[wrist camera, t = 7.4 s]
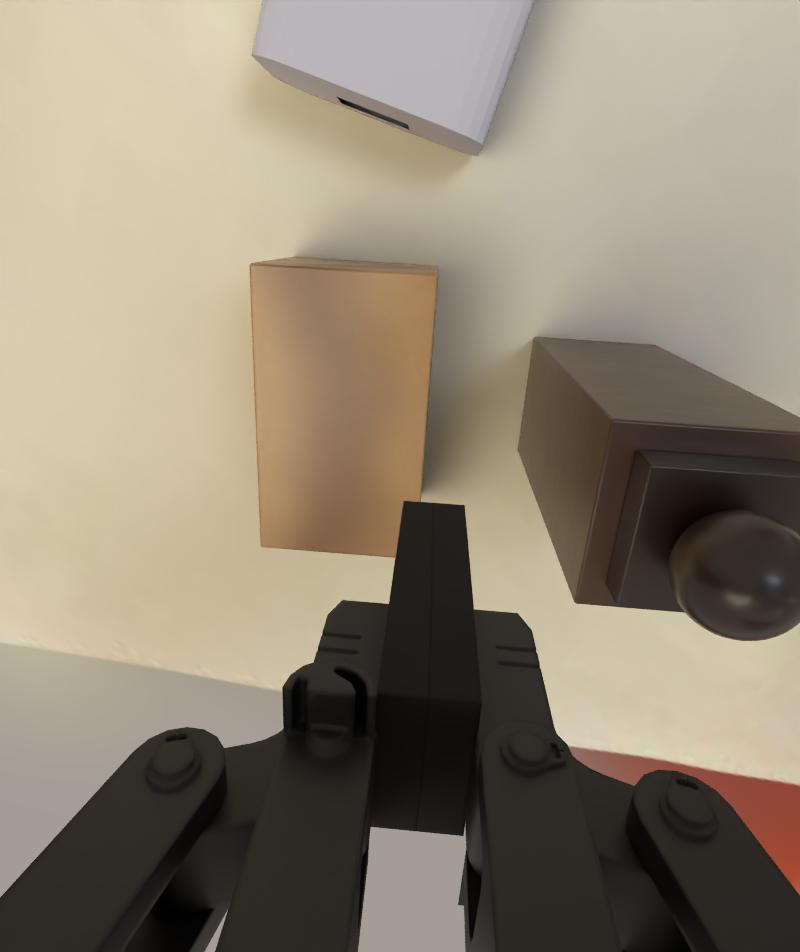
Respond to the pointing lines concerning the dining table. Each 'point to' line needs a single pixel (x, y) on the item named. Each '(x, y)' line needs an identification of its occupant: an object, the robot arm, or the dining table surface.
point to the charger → (399, 59)
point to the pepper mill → (665, 485)
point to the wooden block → (340, 399)
